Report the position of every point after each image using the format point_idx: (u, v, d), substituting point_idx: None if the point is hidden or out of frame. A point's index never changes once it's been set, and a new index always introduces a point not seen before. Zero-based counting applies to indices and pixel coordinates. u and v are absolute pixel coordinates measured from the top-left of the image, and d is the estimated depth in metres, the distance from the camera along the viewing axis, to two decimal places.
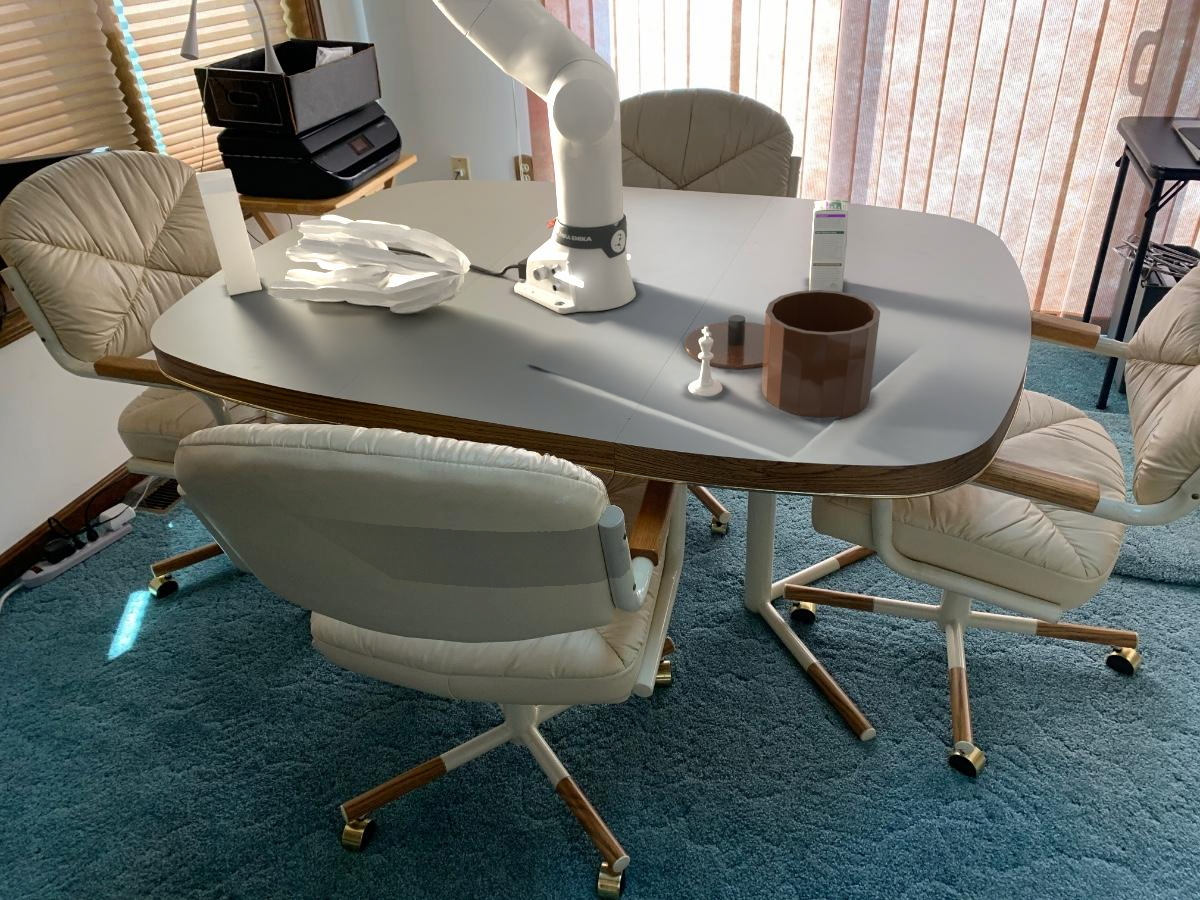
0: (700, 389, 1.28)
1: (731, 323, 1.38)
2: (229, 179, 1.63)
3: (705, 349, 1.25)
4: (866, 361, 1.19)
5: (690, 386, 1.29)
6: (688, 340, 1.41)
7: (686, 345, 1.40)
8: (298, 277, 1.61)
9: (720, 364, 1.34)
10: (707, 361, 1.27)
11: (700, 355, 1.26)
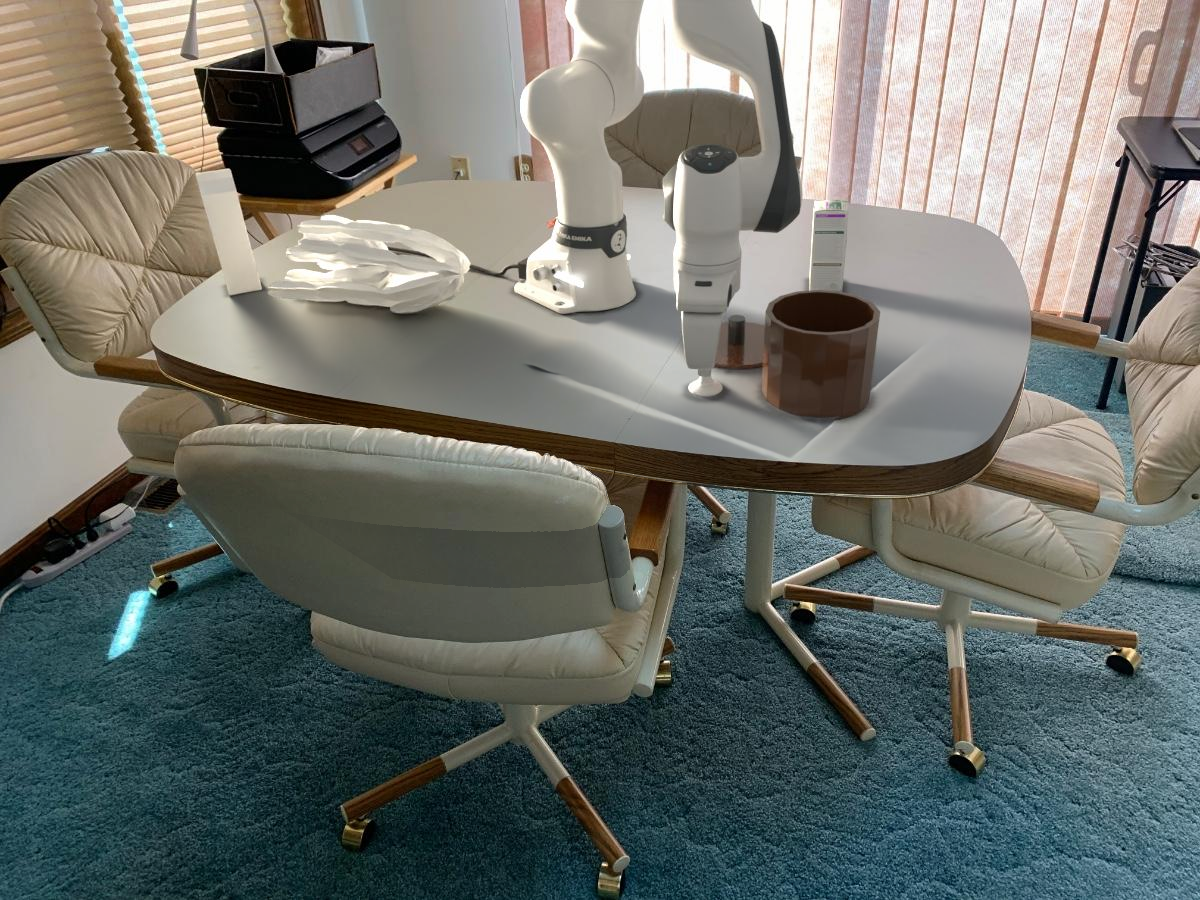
0: (700, 389, 1.28)
1: (731, 323, 1.38)
2: (229, 179, 1.63)
3: None
4: (866, 361, 1.19)
5: (690, 386, 1.29)
6: None
7: None
8: (298, 277, 1.61)
9: (720, 364, 1.34)
10: None
11: None
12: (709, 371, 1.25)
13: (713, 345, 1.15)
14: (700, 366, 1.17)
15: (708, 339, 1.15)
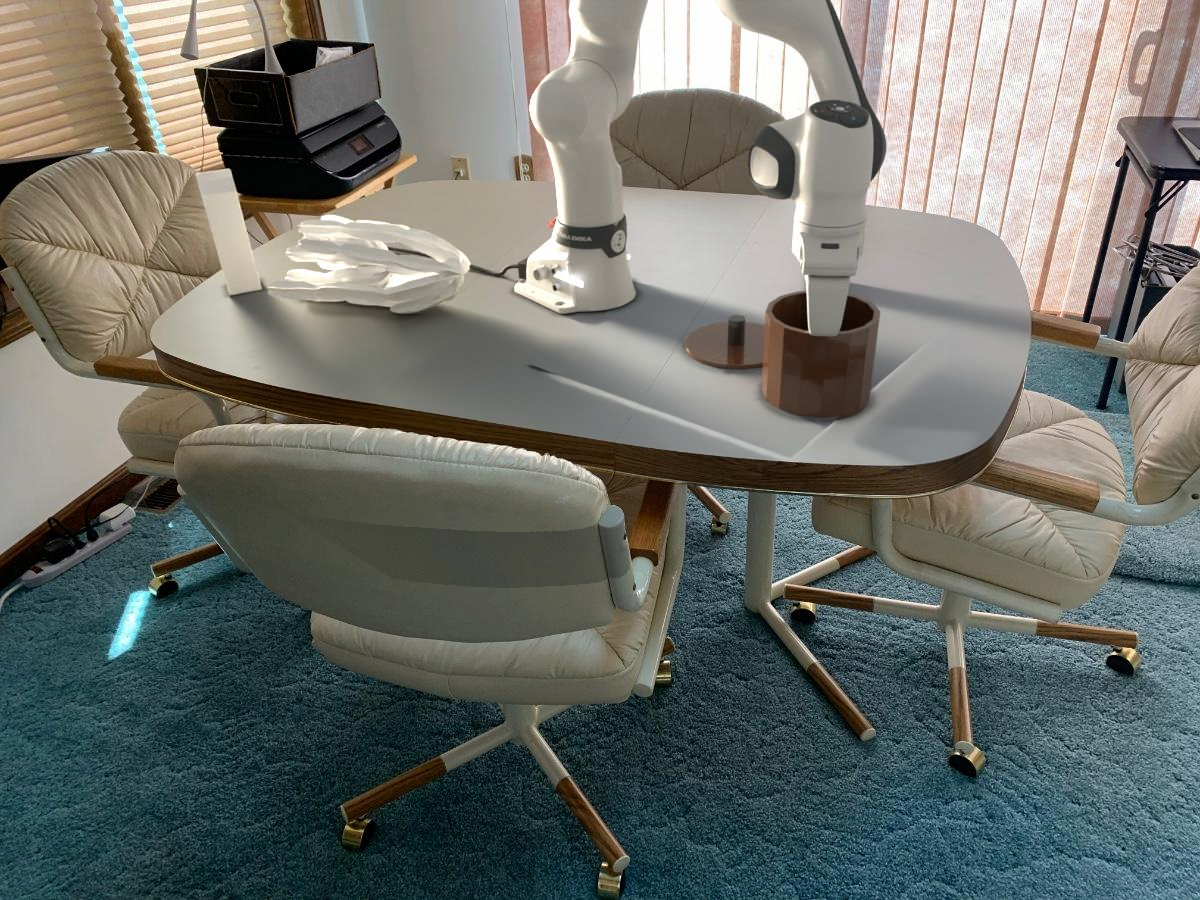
0: None
1: (731, 323, 1.38)
2: (229, 179, 1.63)
3: None
4: (866, 361, 1.19)
5: None
6: (688, 340, 1.41)
7: (686, 345, 1.40)
8: (298, 277, 1.61)
9: (720, 364, 1.34)
10: None
11: None
12: None
13: (840, 310, 1.10)
14: (824, 333, 1.12)
15: (834, 304, 1.10)
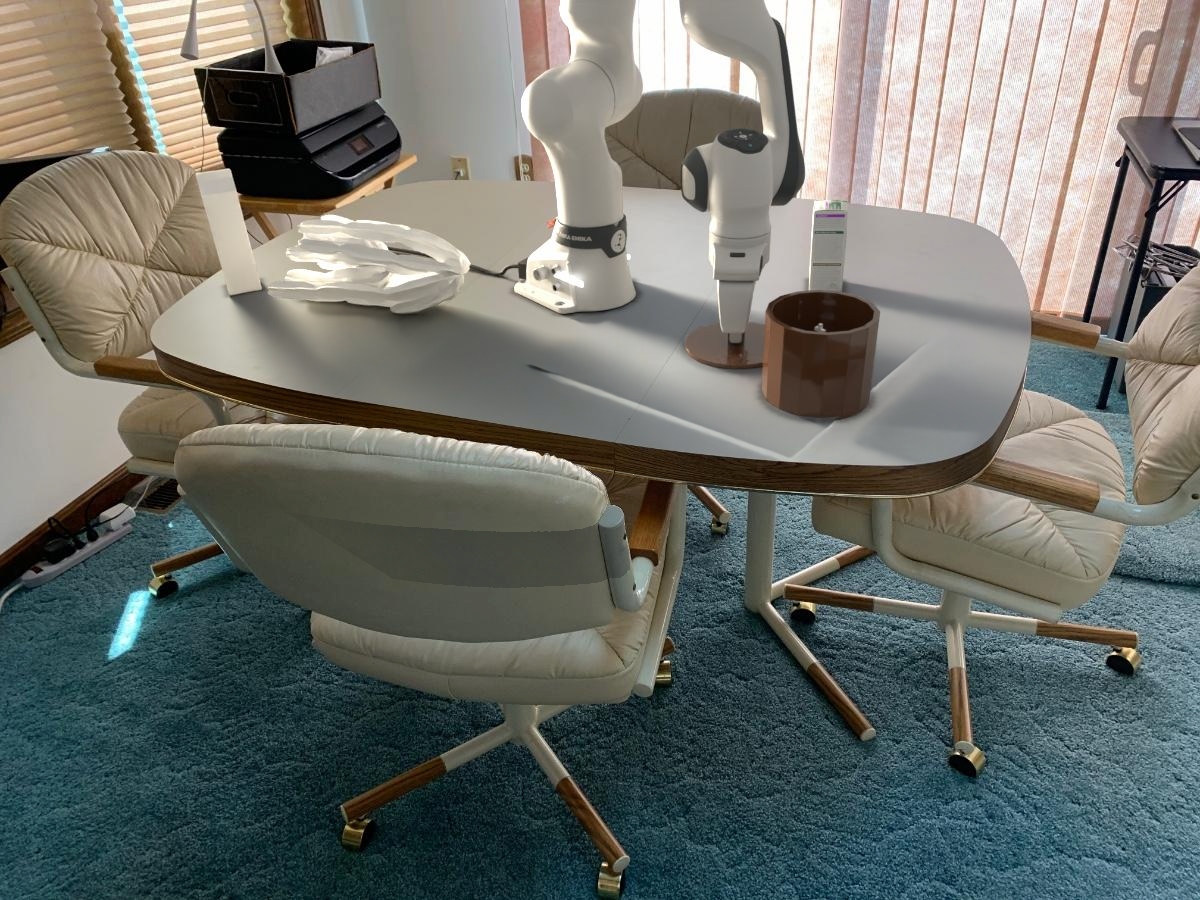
0: None
1: None
2: (229, 179, 1.63)
3: None
4: (866, 361, 1.19)
5: None
6: (688, 340, 1.41)
7: (686, 345, 1.40)
8: (298, 277, 1.61)
9: (720, 364, 1.34)
10: None
11: None
12: (740, 338, 1.37)
13: (746, 310, 1.27)
14: (734, 330, 1.28)
15: (741, 305, 1.26)
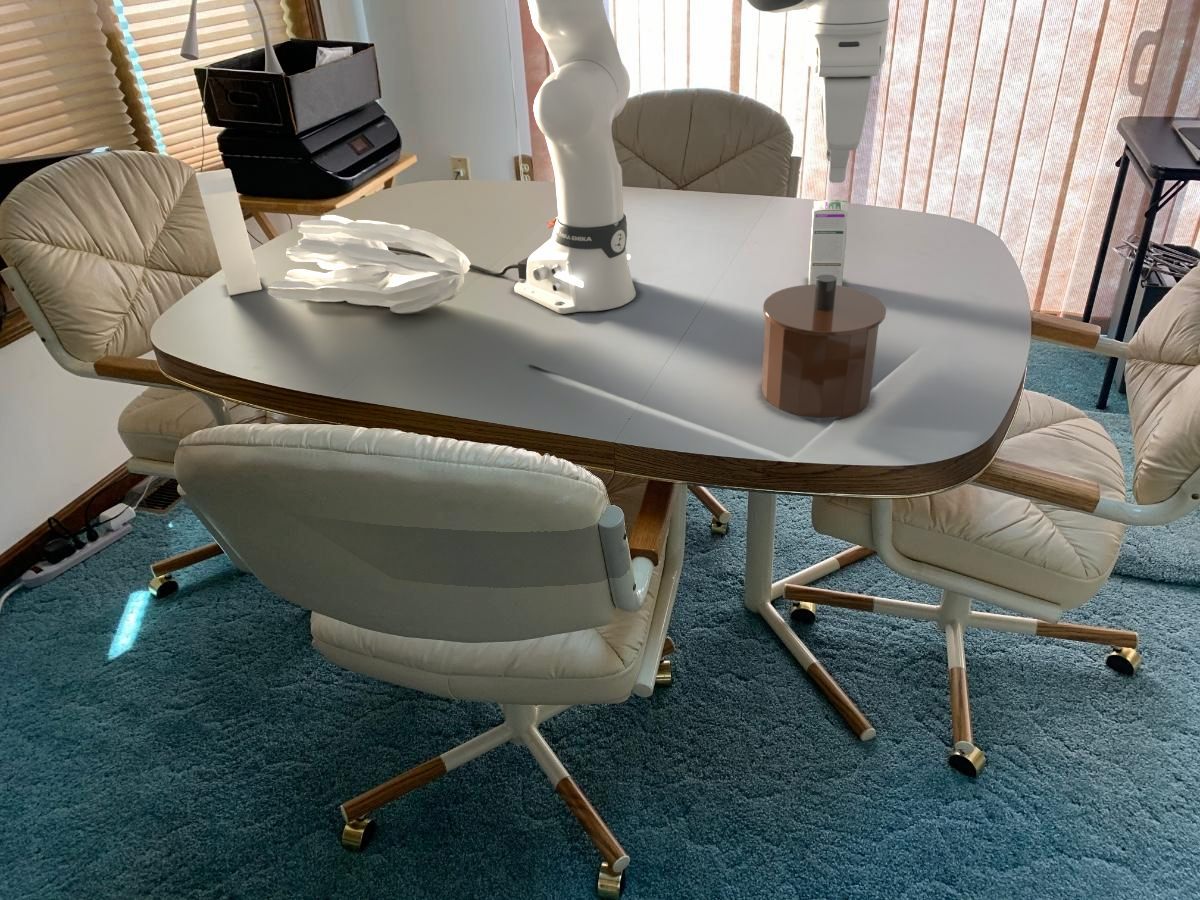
0: None
1: (820, 284, 1.18)
2: (229, 179, 1.63)
3: None
4: (866, 361, 1.19)
5: None
6: (767, 305, 1.22)
7: (766, 310, 1.20)
8: (298, 277, 1.61)
9: (810, 331, 1.14)
10: None
11: None
12: (843, 175, 1.06)
13: (860, 116, 0.98)
14: (843, 145, 1.00)
15: (854, 109, 0.98)
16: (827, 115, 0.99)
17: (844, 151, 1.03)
